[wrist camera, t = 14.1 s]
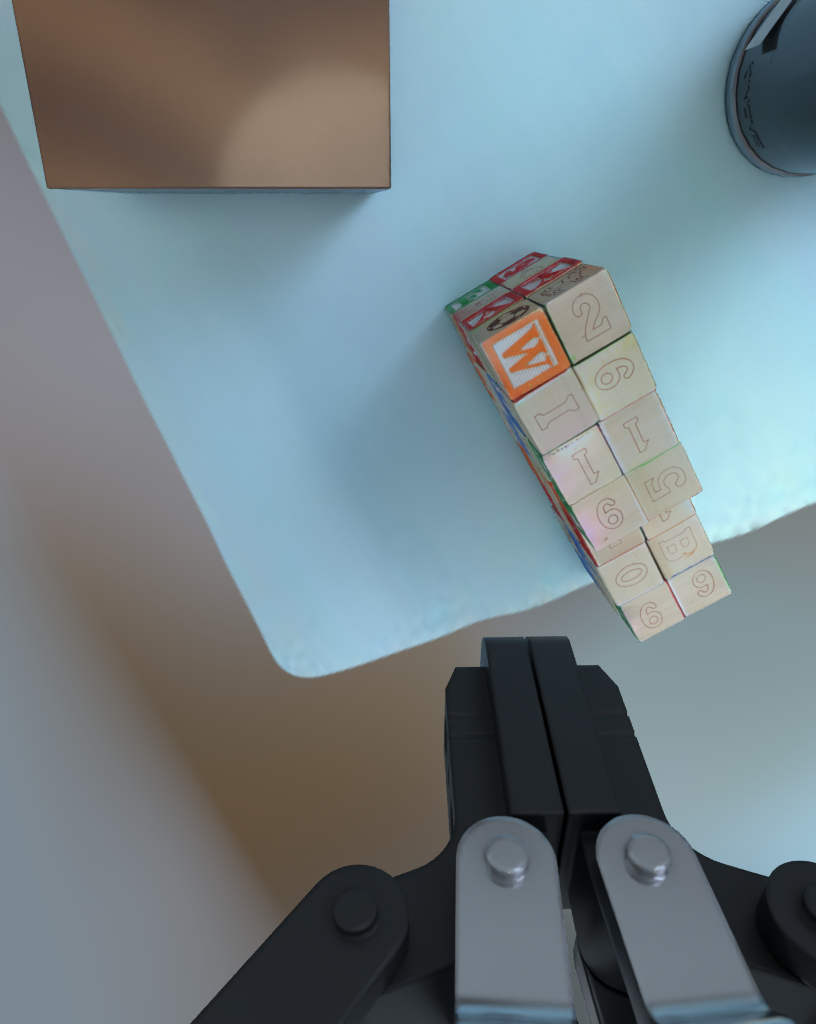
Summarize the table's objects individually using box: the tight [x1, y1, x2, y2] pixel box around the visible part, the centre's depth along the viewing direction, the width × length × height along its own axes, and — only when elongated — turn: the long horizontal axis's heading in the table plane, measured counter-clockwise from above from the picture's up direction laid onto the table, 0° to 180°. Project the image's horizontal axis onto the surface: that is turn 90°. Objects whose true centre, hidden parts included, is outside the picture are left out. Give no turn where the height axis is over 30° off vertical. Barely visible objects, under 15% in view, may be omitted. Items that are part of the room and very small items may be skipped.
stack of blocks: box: [445, 252, 731, 642], centre depth 40 cm, size 21×6×12 cm, turn 30°
